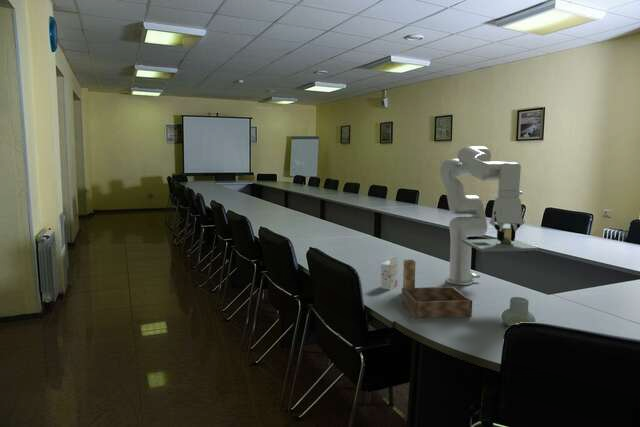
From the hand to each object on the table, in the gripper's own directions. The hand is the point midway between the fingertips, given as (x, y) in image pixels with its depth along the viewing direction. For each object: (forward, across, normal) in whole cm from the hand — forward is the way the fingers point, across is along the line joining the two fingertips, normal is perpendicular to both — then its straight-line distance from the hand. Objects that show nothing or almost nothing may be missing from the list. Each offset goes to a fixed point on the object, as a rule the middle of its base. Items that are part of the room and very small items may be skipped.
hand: (505, 240), depth 169 cm
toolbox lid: (+2, +3, 0) cm, 4 cm away
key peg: (+27, +33, -19) cm, 47 cm away
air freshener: (+27, +5, +20) cm, 34 cm away
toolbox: (+27, +28, 0) cm, 39 cm away
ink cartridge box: (+27, +39, -30) cm, 56 cm away
